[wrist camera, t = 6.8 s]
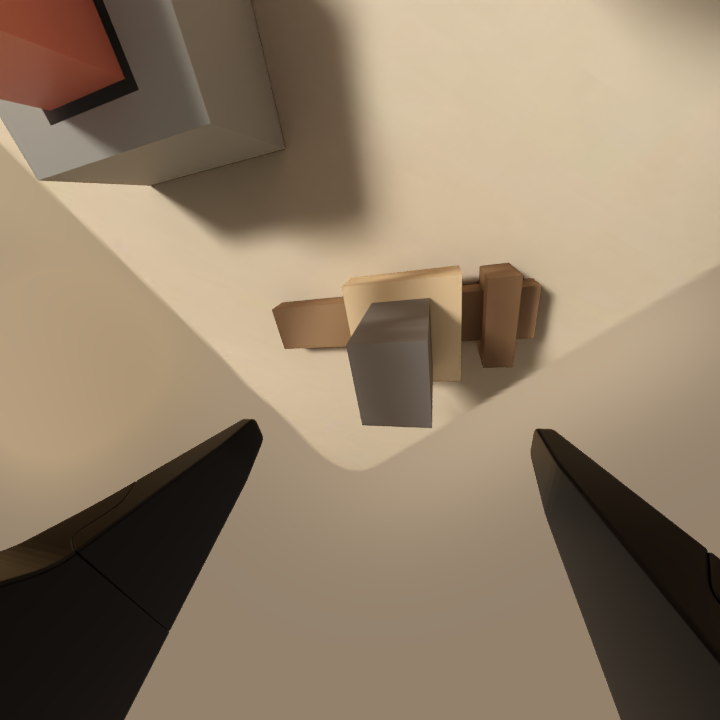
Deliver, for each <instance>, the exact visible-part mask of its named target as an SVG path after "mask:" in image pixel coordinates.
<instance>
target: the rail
mask: <svg viewBox="0 0 720 720" xmlns="http://www.w3.org/2000/svg"><path fill="white" fill-rule="evenodd" d="M540 292H541V285H540V284H539V283H538V282H537V281H535V280H534V279H533V278H531V279H523V275H522V274H521V273H520V272H519V271H518V270H516V269H515V268H514V267H513V266H512V265H511V264H510V263H503V264H494V265H486V266H480V274H479V284H469V285H462V316H461V341H477V347H478V351H479V355H480V358H481V362H482V365H483V368H493V367H513V360H514V352H515V343H516V339H523V338H534V333H535V326H536V319H537V312H538V305H539V299H540ZM272 311H273V314H274V317H275V321H276V324H277V327H278V330H279V333H280V336H281V339H282V342H283V345H284V348H285V349H294V348H317V347H340V346H346V344H347V343H348V341H349V339H350V338H351V334H350V329H349V323H348V318H347V313H346V308H345V303H344V297H335V298H325V299H315V300H304V301H294V302H284V303H281V304H280V305H278V306H277V307H275V308H274V309H272Z"/></svg>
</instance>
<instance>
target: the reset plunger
mask: <svg viewBox="0 0 720 720" xmlns="http://www.w3.org/2000/svg"><path fill="white" fill-rule="evenodd" d="M123 79H125V77H124V75H123V72H122V70H121V68H120V65H119V63H118V60H117V58H116V56H115V53H114V51H113V48H112V46H111V43H110V41H109V39H108V36H107V34H106V31H105V29H104V27H103V24H102V22H101V19H100V17H99V14H98V12H97V10H96V7H95V5H94V2H93V0H0V99H2V100H6V101H10V102H15V103H19V104H23V105H28V106H32V107H36V108H41V109H45V110H49V111H51V110H53V109H56V108H58V107H60V106H63V105H65V104H67V103H70V102H72V101H74V100H77V99H79V98H81V97H84V96H86V95H88V94H90V93H93V92H95V91H97V90H100V89H102V88H104V87H107V86H109V85H111V84H114V83H116V82H118V81H121V80H123Z"/></svg>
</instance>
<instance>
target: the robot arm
mask: <svg viewBox="0 0 720 720" xmlns="http://www.w3.org/2000/svg"><path fill="white" fill-rule="evenodd" d="M262 440H263V436H262V433H261V431H260V429H259V426H258V424H257V422H256V421H255V420H254V419H243V420H241V421H239V422H237V423H236V424H234V425H232V426H231V427H229V428H227V429H225V430H224V431H222V432H220V433H218V434H217V435H215V436H213V437H211V438H210V439H208V440H206V441H205V442H203V443H201V444H199V445H198V446H196V447H194V448H192V449H191V450H189V451H187V452H186V453H184V454H182V455H180V456H179V457H177V458H175V459H174V460H172V461H170V462H168V463H166V464H165V465H163V466H161V467H160V468H158V469H156V470H154V471H153V472H151V473H150V474H147V475H146V476H144V477H142V478H141V479H139V480H137V482H134V483H132V484H130V485H128V486H127V487H125V488H123V489H121V490H120V491H118V492H116V493H115V494H113V495H111V496H109V497H107V498H105V499H104V500H102V501H100V502H98V503H96V504H94V505H93V506H91V507H89V508H87V509H85V510H83V511H81V512H80V513H78V514H76V515H74V516H72V517H70V518H68V519H66V520H64V521H62V522H60V523H59V524H57V525H55V526H53V527H51V528H49V529H47V530H45V531H43V532H41V533H40V534H38V535H36V536H34V537H32V538H30V539H28V540H26V541H24V542H22V543H20V544H18V545H16V546H13V547H11V548H8V549H6V550H3V551H0V720H124V719H125V717H126V715H127V714H128V712H129V710H130V708H131V706H132V704H133V702H134V700H135V698H136V696H137V694H138V692H139V690H140V688H141V686H142V684H143V682H144V680H145V678H146V676H147V675H148V672H149V671H150V669H151V667H152V665H153V663H154V661H155V659H156V657H157V655H158V653H159V651H160V649H161V647H162V645H163V643H164V641H165V639H166V637H167V635H168V634H169V630H170V629H171V627H172V625H173V623H174V621H175V620H176V618H177V616H178V614H179V612H180V610H181V608H182V606H183V604H184V602H185V600H186V598H187V596H188V594H189V592H190V590H191V588H192V586H193V585H194V583H195V581H196V579H197V577H198V575H199V573H200V571H201V569H202V567H203V565H204V563H205V561H206V559H207V557H208V555H209V553H210V551H211V549H212V547H213V546H214V543H215V542H216V540H217V538H218V536H219V534H220V532H221V530H222V528H223V526H224V524H225V522H226V520H227V518H228V516H229V514H230V513H231V511H232V509H233V507H234V505H235V503H236V501H237V499H238V497H239V495H240V493H241V491H242V489H243V487H244V485H245V483H246V481H247V479H248V476H249V474H250V471H251V469H252V466H253V464H254V462H255V459H256V456H257V454H258V452H259V449H260V447H261V444H262ZM531 459H532V463H533V467H534V471H535V475H536V479H537V483H538V487H539V491H540V495H541V500H542V504H543V507H544V511H545V515H546V517H547V521H548V523H549V526H550V529H551V532H552V534H553V537H554V540H555V543H556V545H557V548H558V551H559V553H560V556H561V559H562V561H563V564H564V567H565V570H566V572H567V575H568V578H569V580H570V583H571V586H572V588H573V591H574V594H575V597H576V599H577V602H578V605H579V608H580V610H581V613H582V616H583V618H584V621H585V624H586V626H587V629H588V632H589V635H590V637H591V640H592V643H593V646H594V648H595V651H596V654H597V656H598V659H599V662H600V664H601V667H602V670H603V672H604V675H605V678H606V681H607V683H608V686H609V689H610V692H611V694H612V697H613V700H614V702H615V705H616V708H617V710H618V713H619V716H620V719H621V720H720V559H719V558H718V557H717V556H715V555H714V554H713V553H708V552H707V549H706V548H705V547H704V546H702V545H701V544H700V543H699V542H697V541H696V540H695V539H693V538H692V537H691V536H689V535H688V534H687V533H686V532H684V531H683V530H682V529H680V528H679V527H678V526H677V525H675V524H674V523H673V522H672V521H670V520H669V519H668V518H666V517H665V516H664V515H663V514H661V513H660V512H659V511H657V510H656V509H655V508H654V507H652V506H651V505H650V504H648V503H647V502H646V501H645V500H643V499H642V498H641V497H639V496H638V495H637V494H636V493H634V492H633V491H632V490H630V489H629V488H628V487H627V486H625V485H624V484H623V483H621V482H620V481H619V480H618V479H616V478H615V477H614V476H612V475H611V474H610V473H609V472H607V471H606V470H605V469H603V468H602V467H601V466H599V465H598V464H597V463H596V462H594V461H593V460H592V459H591V458H589V457H588V456H587V455H585V454H584V453H583V452H582V451H580V450H579V449H578V448H576V447H575V446H574V445H573V444H571V443H570V442H569V441H567V440H566V439H565V438H564V437H562V436H561V435H560V434H558V433H557V432H556V431H554V430H552V429H536V430H535V431H534V435H533V441H532V447H531Z"/></svg>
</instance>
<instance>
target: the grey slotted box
mask: <svg viewBox="0 0 720 720" xmlns="http://www.w3.org/2000/svg"><path fill="white" fill-rule="evenodd" d="M93 2H94V5H95V7H96V10H97V12H98V14H99V17H100V19H101V22H102V24H103V27H104V29H105V31H106V34H107V36H108V39H109V41H110V43H111V46H112V48H113V51H114V53H115V56H116V58H117V60H118V63H119V65H120V68H121V70H122V72H123V75H124V77H125V79H123V80H121V81H118V82H116V83H114V84H111V85H109V86H107V87H104V88H102V89H100V90H97V91H95V92H93V93H90V94H88V95H86V96H84V97H81V98H79V99H77V100H74V101H72V102H70V103H67V104H65V105H63V106H60V107H58V108H56V109H53V110H51V111H49V110H45V109H41V108H36V107H32V106H28V105H23V104H19V103H15V102H10V101H6V100H2V99H0V118H1V119H2V121H3V123H4V124H5V126H6V128H7V129H8V131H9V133H10V134H11V136H12V138H13V139H14V141H15V143H16V144H17V146H18V148H19V149H20V151H21V153H22V154H23V156H24V158H25V159H26V161H27V163H28V164H29V166H30V168H31V169H32V171H33V173H34V174H35V176H36V178H37V179H38V180H41V181H62V182H83V183H104V184H126V185H147V186H150V185H154V184H157V183H161V182H165V181H168V180H172V179H176V178H179V177H183V176H187V175H191V174H194V173H198V172H202V171H205V170H209V169H213V168H216V167H220V166H224V165H227V164H231V163H235V162H238V161H242V160H246V159H249V158H253V157H257V156H260V155H264V154H268V153H271V152H275V151H279V150H282V149H285V145H284V140H283V136H282V132H281V128H280V123H279V119H278V115H277V110H276V106H275V102H274V98H273V93H272V89H271V85H270V80H269V76H268V72H267V67H266V63H265V59H264V55H263V50H262V46H261V42H260V37H259V33H258V29H257V24H256V20H255V16H254V12H253V7H252V3H251V0H93Z"/></svg>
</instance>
